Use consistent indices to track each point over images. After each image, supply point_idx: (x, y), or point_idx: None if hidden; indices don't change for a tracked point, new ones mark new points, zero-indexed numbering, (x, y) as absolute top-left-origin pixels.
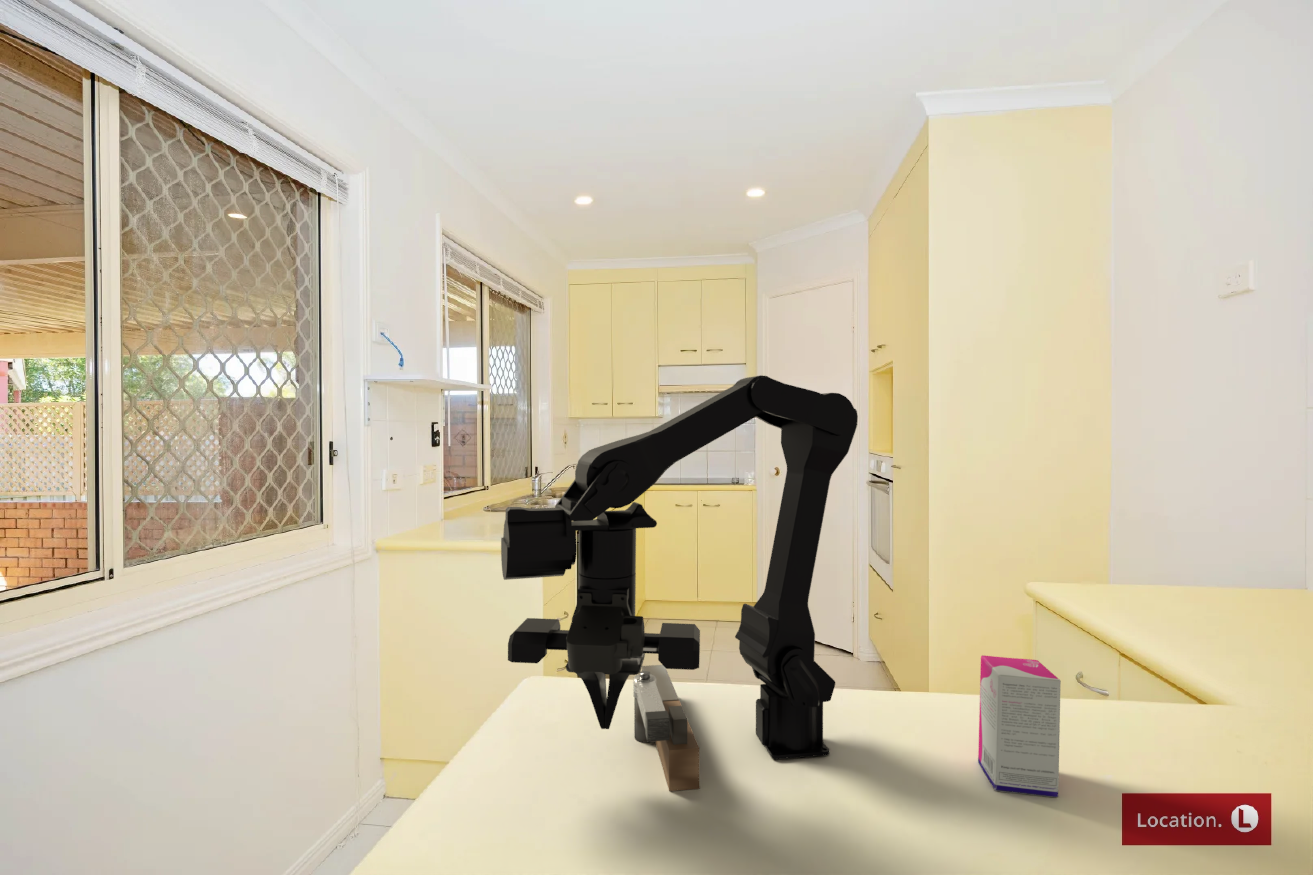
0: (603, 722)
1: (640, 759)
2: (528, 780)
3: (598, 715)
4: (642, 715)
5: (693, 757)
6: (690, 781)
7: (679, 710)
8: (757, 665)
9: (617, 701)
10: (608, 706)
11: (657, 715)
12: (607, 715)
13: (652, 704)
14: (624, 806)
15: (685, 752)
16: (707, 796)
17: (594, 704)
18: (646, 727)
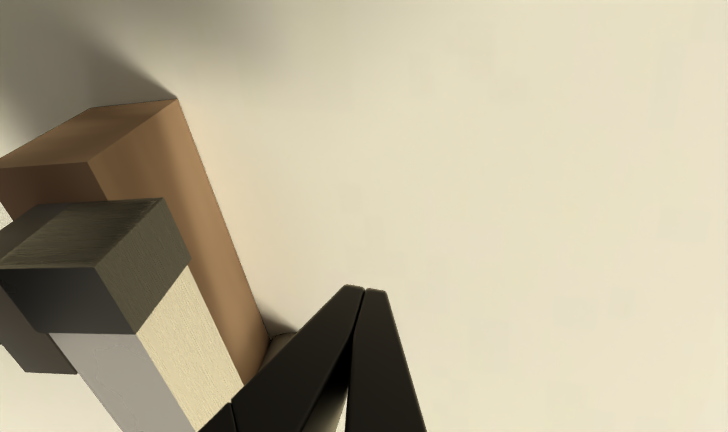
0: (366, 307)
1: (295, 264)
2: (678, 191)
3: (388, 340)
4: (222, 364)
5: (27, 150)
6: (99, 114)
7: (16, 340)
8: None
9: (243, 398)
10: (310, 373)
11: (61, 298)
12: (333, 331)
13: (135, 390)
14: (314, 11)
15: (38, 159)
16: (54, 64)
17: (406, 401)
18: (148, 256)
